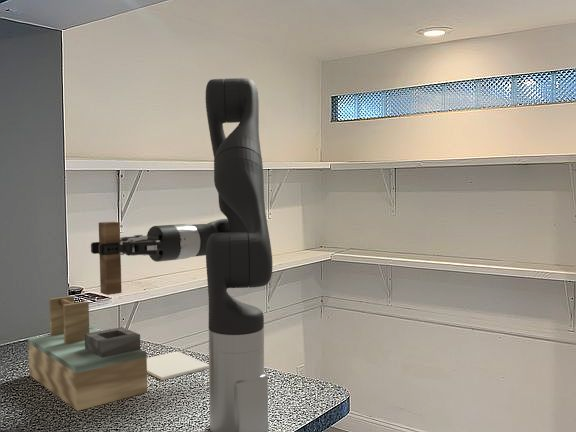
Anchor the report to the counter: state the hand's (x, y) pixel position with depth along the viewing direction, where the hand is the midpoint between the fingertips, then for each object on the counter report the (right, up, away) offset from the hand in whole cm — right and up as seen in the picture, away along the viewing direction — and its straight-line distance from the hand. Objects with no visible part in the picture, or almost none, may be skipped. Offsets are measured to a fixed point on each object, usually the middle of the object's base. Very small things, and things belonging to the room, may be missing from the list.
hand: (95, 248), depth 116 cm
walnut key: (+2, -9, +2) cm, 9 cm away
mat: (+11, -27, +17) cm, 34 cm away
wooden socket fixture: (-4, -28, +7) cm, 29 cm away
